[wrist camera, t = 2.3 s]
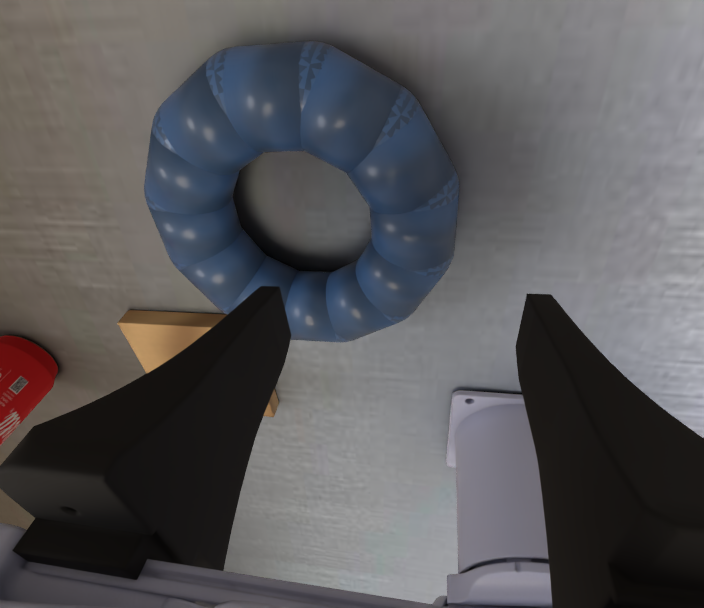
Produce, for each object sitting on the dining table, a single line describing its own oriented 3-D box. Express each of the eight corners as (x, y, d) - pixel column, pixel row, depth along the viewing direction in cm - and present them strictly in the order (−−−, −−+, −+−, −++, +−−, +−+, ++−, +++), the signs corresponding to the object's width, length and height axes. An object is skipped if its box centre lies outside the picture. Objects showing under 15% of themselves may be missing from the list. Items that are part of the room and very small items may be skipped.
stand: (252, 315, 24) (197, 420, 19) (279, 402, 29) (241, 506, 24) (128, 309, 26) (44, 406, 20) (174, 394, 31) (116, 489, 25)
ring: (468, 21, 14) (474, 37, 11) (447, 315, 22) (448, 363, 20) (124, 49, 16) (65, 67, 14) (218, 305, 24) (192, 348, 22)
